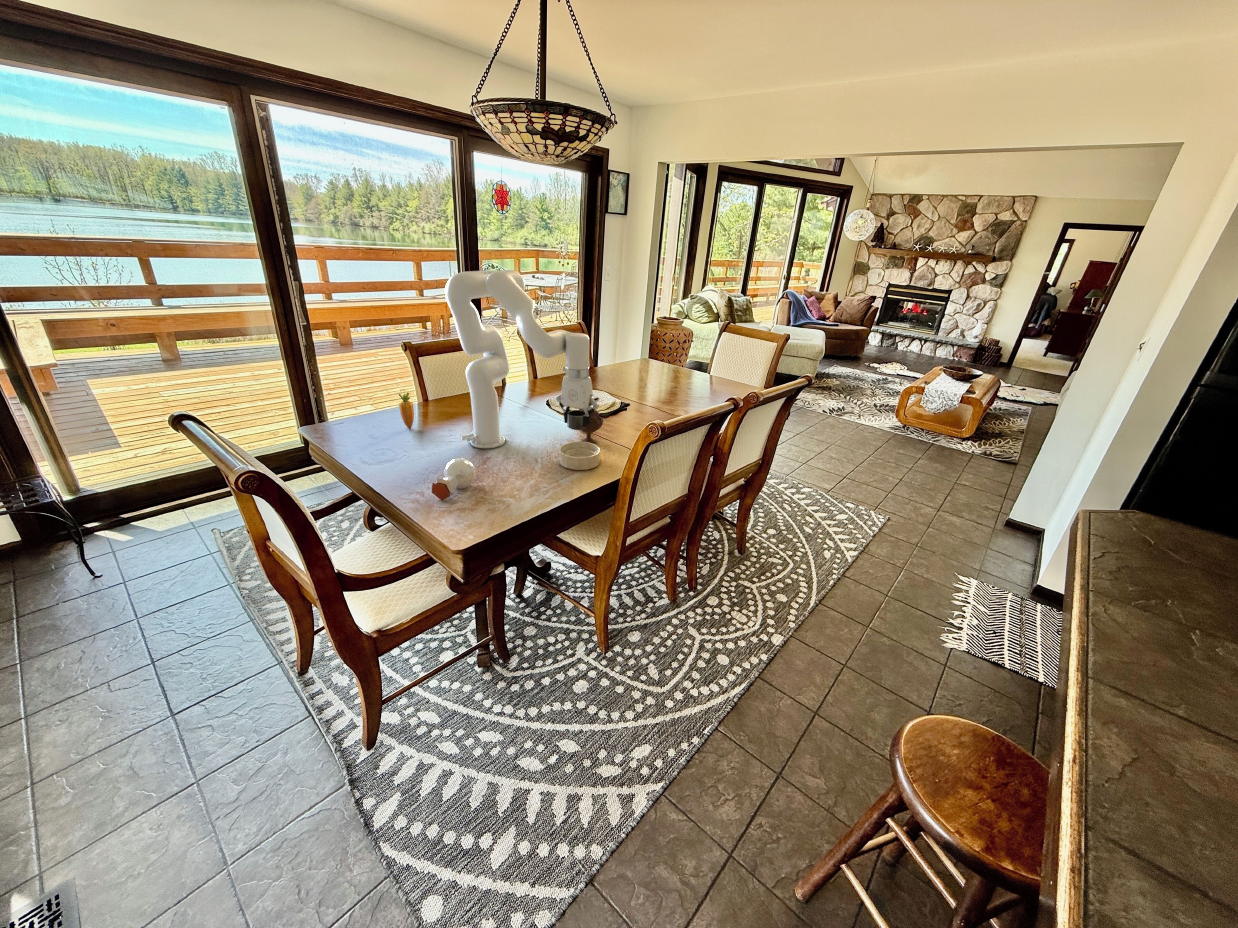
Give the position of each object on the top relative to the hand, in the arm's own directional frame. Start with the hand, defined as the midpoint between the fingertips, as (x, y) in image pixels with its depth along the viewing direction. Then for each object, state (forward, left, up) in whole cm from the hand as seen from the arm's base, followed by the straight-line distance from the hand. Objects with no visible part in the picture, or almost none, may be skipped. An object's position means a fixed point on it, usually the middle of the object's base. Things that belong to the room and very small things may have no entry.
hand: (577, 423), depth 163 cm
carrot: (-47, +54, -15) cm, 73 cm away
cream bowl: (+1, -1, -14) cm, 14 cm away
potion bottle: (-42, -4, -15) cm, 45 cm away
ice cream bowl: (+12, +14, -15) cm, 23 cm away
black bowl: (0, 0, -1) cm, 1 cm away
